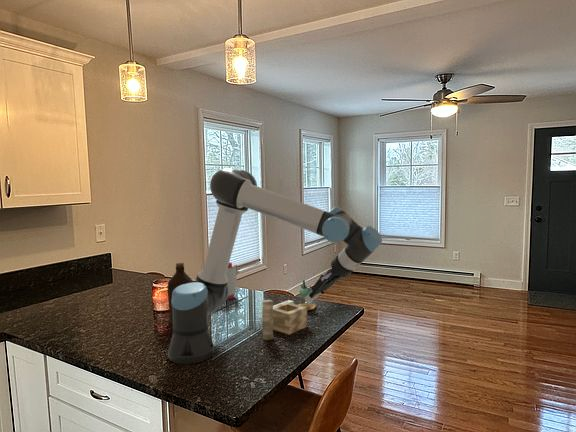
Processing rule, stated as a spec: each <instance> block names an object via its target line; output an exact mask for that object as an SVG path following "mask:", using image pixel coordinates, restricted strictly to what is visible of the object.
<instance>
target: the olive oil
mask: <svg viewBox="0 0 576 432" xmlns="http://www.w3.org/2000/svg"><path fill="white" fill-rule="evenodd" d="M184 265H185V264H184V262H176V264H175V273H174V275H172V277H171V278H170V279H169V281H168V282H167V287H166V289H167V297H168V311H169V312H168V313H169V323H170V325H172V326H173V320H172V304H171V300H172V293H173V291H174V289H175V288H176V287H178V286H180V285H183V284H186V283H192V282H194V281H193V279H192V278H191V277H190V276H189V275H188V274H187V273H186V272H185V266H184Z"/></svg>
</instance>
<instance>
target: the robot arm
mask: <svg viewBox="0 0 576 432" xmlns="http://www.w3.org/2000/svg"><path fill="white" fill-rule="evenodd" d="M209 184H210V185H209V189H210V192H211V194H212V196H213V198H215V199H216V201H215V204H216V206H217V207H218V209H217V210H218V211H217V213H216V218H215V222H214V226H213V230H212V234H211V237H210V242H209V245H208V250H207V253H206V257H205V260H204V264H203V268H202V269H201V270H200V271H198V272H197V274H196V278H195V282H194V281H193V282H192V283H186V284H183V285H180V286H178V287H176V288H175V289H174V291H173V293H172V300H171V304H172V320H173V325H172V336H171V340H170V343H169V347H168V350H167V356H168V360H169V361H171V362H172V363H176V364H179V365H181V364H182V365H191V364H192V365H193V364H199V363H200V362H204V361H207V360H208V359H210V358H211V357H212V356H214V354H215V345H214V341H213V339H212V336H211V334H210V331H209V316H210V314H212V313H213V312H215V311H216V310H218V309H219V308H221V307H222V306H223V305H224V303H226V301H228V300H227V297H228V294H229V289H228V286H227V284H228V278H227V276H226V272H227V268H228V265H229V262H230V261H231V256H232V254H233V249H234V246H235V242H236V238H237V234H238V230H239V226H240V223H241V220H242V216H243V214H245V213H246V212H248V210H252V211H255V212H256V213H260V214H262V215H265V216H268V217H271V218H274V219H275V220H279V221H282V222H283V223H287V224H288V225H292V226H294V227H298V228H300V229H303V230H306V231H308V232H312V233H314V234H316V235H318V236H322V237H323V238H325V240H327V241H328V242H330V243H333V244H334V243H339V242H343V243H344V244H346V246H345V247H344V248H343V249H342V250H340V252H339V253H338V255H336V256H335V257H334V258H333V259H332V260H331V263H330V267H331V268H329V269H328V270H326V273H325V274H320V275H319V278H318V280H317V281H316V282H315V284H313V286H311V287H312V288H311V287H310V288H311V291H310V293H309V294H308V295H307V296H306V297H305V298H303V299H304V300H305V301H306V302H305V303H308V304H310V303H311V304H312V303H313V302H314V301H315V300H316V299H317V298H318V297H319V296H320V295H324V294H325V291H327V290H328V289H329V288H330V287H332V286H333V285H334V284H335V283H336V282H337V281H339V280H340V279H341V278H347V277H349V276H350V275H351V273H352V274H353V272H354V270H356V269H359V268H360V265H361V264H362V263H363V262H364V261H366V259H367V258H368V257H370V255H372V254H373V253H374V252H375V251H376V250H377V248H378V247H379V246H380V245H381V244H382V241H383V239H382V235H381V234H380V233H379V231H378V230H377V229H376V228H373V226H370V225H365V227H362V226H360V225H359V224H358V223H357V222H356V220H354V219H353V218H352V217H351V216H350V215H348V213H347V212H346V211H345V210H343V209H342V208H341V207H339V206H338V205H336V206H334V207H333V208H332V209H330V211H329V212H328V211H325V210H324V209H321V208H318V207H315V206H312V205H309V204H307V203H304V202H302V201H300V200H299V201H298V200H296V199H294V198H291V197H288V196H285V195H282V194H279V193H277V192H274V191H272V190H268V189H266V188H263V187H260V186H258V182H257V180H256V178H255V176H253V174H252V173H250V172H249V171H247V170H245V169H240V168H222V169H219V170H218V171H216V172H215V173H214V174H213V176H212V177H211V179H210V183H209Z"/></svg>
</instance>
